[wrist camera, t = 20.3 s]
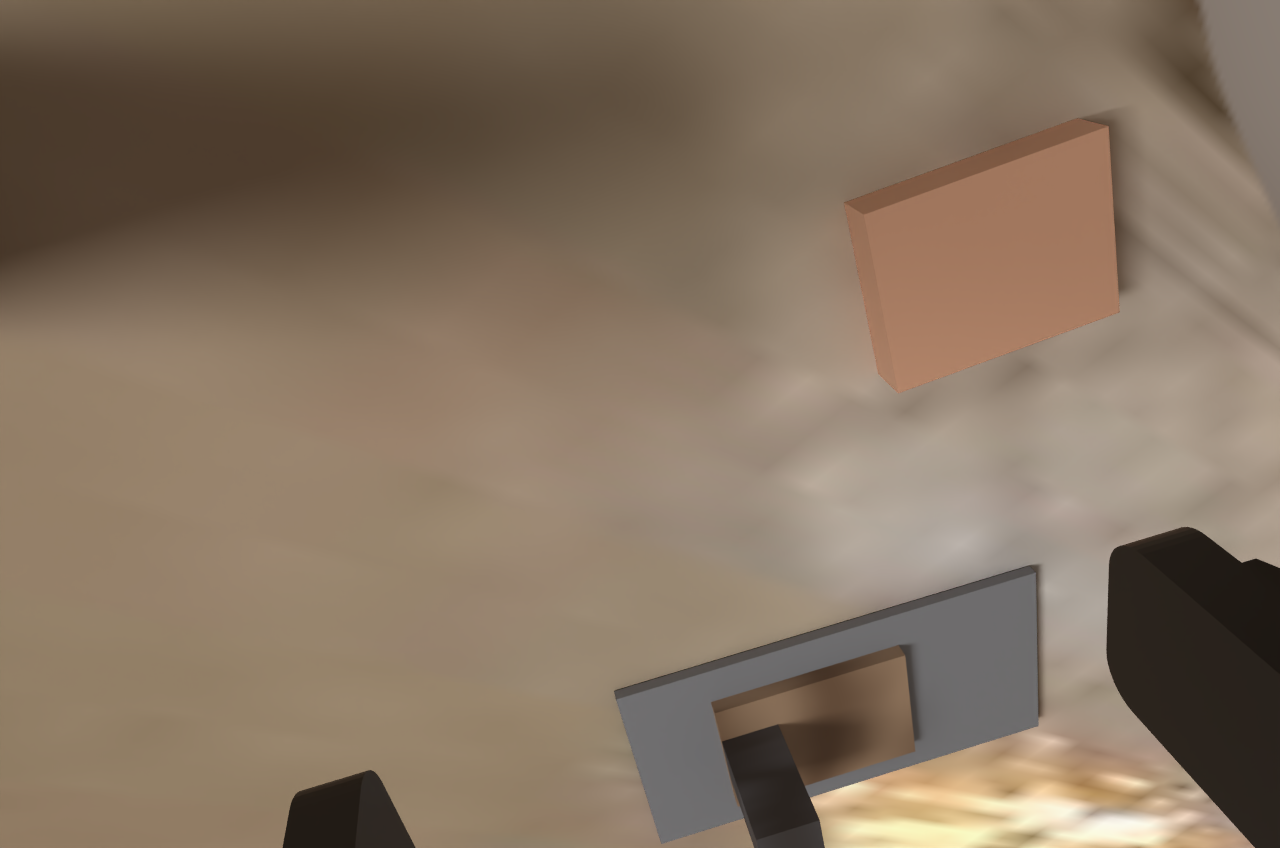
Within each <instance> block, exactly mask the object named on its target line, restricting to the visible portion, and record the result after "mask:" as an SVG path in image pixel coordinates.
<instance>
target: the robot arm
mask: <svg viewBox="0 0 1280 848" xmlns="http://www.w3.org/2000/svg"><path fill="white" fill-rule="evenodd" d="M1106 650H1107V661H1108V665H1109V669H1110V672H1111V675H1112V678H1113V680H1114V683H1115V685H1116V687H1117V689H1118V691H1119V693H1120V695H1121V696H1122V698H1123V700H1124V701H1125V703H1126V704H1127V705H1128V707H1129V708H1130V709H1131V711H1132V712H1133V713H1134V714H1135V715H1136V716H1137V717H1138V719H1139V720H1140V721H1141V722H1142V723H1143V724H1144V725H1145V726H1146V727H1147V728H1148V730H1149V731H1150V732H1151V733H1152V734H1153V735H1154V736H1155V737H1156V738H1157V740H1158V741H1159V742H1160V743H1161V744H1162V745H1163V746H1164V747H1165V748H1166V750H1167V751H1168V752H1169V753H1170V754H1171V755H1172V756H1173V757H1174V758H1175V760H1176V761H1177V762H1178V763H1179V764H1180V765H1181V766H1182V767H1183V768H1184V770H1185V771H1186V772H1187V773H1188V774H1189V775H1190V776H1191V777H1192V778H1193V780H1194V781H1195V782H1196V783H1197V784H1198V785H1199V786H1200V787H1201V788H1202V789H1203V791H1204V792H1205V793H1206V794H1207V795H1208V796H1209V797H1210V798H1211V799H1212V801H1213V802H1214V803H1215V804H1216V805H1217V806H1218V807H1219V808H1220V809H1221V811H1222V812H1223V813H1224V814H1225V815H1226V816H1227V817H1228V818H1229V819H1230V821H1231V822H1232V823H1233V824H1234V825H1235V826H1236V827H1237V828H1238V829H1239V831H1240V832H1241V833H1242V834H1243V835H1244V836H1245V837H1246V838H1247V839H1248V840H1249V842H1250V843H1251V844H1252V845H1253V846H1254V847H1255V848H1280V568H1278V567H1276V566H1273V565H1271V564H1268V563H1266V562H1263V561H1261V560H1258V559H1253V560H1250V561H1246V562H1243V563H1241V562H1240V561H1239V560H1237V559H1236V558H1235V557H1233V556H1232V555H1231V554H1229V553H1228V552H1227V551H1226V550H1224V549H1223V548H1222V547H1220V546H1219V545H1218V544H1216V543H1215V542H1214V541H1213V540H1211V539H1210V538H1209V537H1207V536H1206V535H1205V534H1203V533H1202V532H1200V531H1198V530H1196V529H1194V528H1190V527H1182V528H1178V529H1175V530H1172V531H1168V532H1165V533H1162V534H1158V535H1155V536H1152V537H1148V538H1145V539H1142V540H1139V541H1135V542H1132V543H1129V544H1125V545H1122V546H1119V547H1117V548H1115V549H1114V550H1113V552H1112V554H1111V557H1110V561H1109V584H1108V617H1107V649H1106ZM283 848H415V846H414V844H413V842H412V840H411V838H410V836H409V834H408V832H407V830H406V828H405V826H404V824H403V822H402V820H401V818H400V816H399V815H398V813H397V811H396V809H395V807H394V805H393V803H392V801H391V799H390V797H389V795H388V793H387V791H386V789H385V787H384V785H383V783H382V781H381V780H380V778H379V777H378V775H377V774H376V773H375V772H374V771H371V770H369V771H365V772H362V773H359V774H355V775H352V776H349V777H345V778H342V779H339V780H335V781H332V782H329V783H325V784H322V785H319V786H316V787H312V788H309V789H306V790H302V791H299V792H298V793H296V795H295V796H294V798H293V800H292V802H291V806H290V810H289V816H288V821H287V827H286V832H285V838H284V843H283Z"/></svg>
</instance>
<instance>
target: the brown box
mask: <svg viewBox="0 0 1280 848" xmlns="http://www.w3.org/2000/svg"><path fill="white" fill-rule="evenodd" d="M711 705H712V709H713V713H714V717H715V721H716V725H717V729H718V733H719V737H720V741H721V745H722V749H723V753H724V757H725V761H726V766H727V770H728V774H729V778H730V782H731V786H732V790H733V794H734V797H735V800H736V803H737V806H738V807H739V806H740V807H741V810H742V813H743V816H744V819H745V822H746V825H747V828H748V831H749V834H750V836H751V839H752V842H753V845H754V848H825V847H824V842H823V836H822V831H821V826H820V820H819V818H818V816H817V813H816V811H815V809H814V806H813V804H812V802H811V799H810V797H809V795H808V792H807V790H806V788H805V786H806V785H810V784H813V783H816V782H819V781H822V780H826V779H829V778H832V777H835V776H838V775H842V774H845V773H848V772H851V771H854V770H858V769H861V768H864V767H867V766H870V765H874V764H877V763H880V762H883V761H886V760H890V759H893V758H896V757H899V756H903V755H906V754H909V753H912V752H915V743H914V733H913V724H912V715H911V705H910V696H909V686H908V677H907V668H906V658H905V654H904V653H903V651H902V650H901V648H900V647H899V645H897V646H894V647H890V648H887V649H884V650H880V651H877V652H874V653H871V654H867V655H864V656H861V657H857V658H854V659H851V660H848V661H844V662H841V663H838V664H834V665H831V666H828V667H825V668H821V669H818V670H815V671H811V672H808V673H805V674H802V675H798V676H795V677H792V678H788V679H785V680H782V681H779V682H775V683H772V684H769V685H765V686H762V687H759V688H756V689H752V690H749V691H746V692H742V693H739V694H736V695H733V696H729V697H726V698H723V699H719V700H716V701H713V702H711Z"/></svg>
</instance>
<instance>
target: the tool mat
mask: <svg viewBox="0 0 1280 848" xmlns="http://www.w3.org/2000/svg"><path fill="white" fill-rule="evenodd" d="M897 645H899V647H900V648H901V650H902V651H903V653H904V654H905V658H906V668H907V677H908V686H909V696H910V705H911V715H912V724H913V733H914V743H915V752H912V753H909V754H906V755H903V756H899V757H896V758H893V759H890V760H886V761H883V762H880V763H877V764H874V765H870V766H867V767H864V768H861V769H858V770H854V771H851V772H848V773H845V774H842V775H838V776H835V777H832V778H829V779H826V780H822V781H819V782H816V783H813V784H810V785H806V786H805V788H806V790H807V792H808V795H809V797H813V796H816V795H819V794H822V793H826V792H829V791H832V790H835V789H838V788H842V787H845V786H848V785H851V784H854V783H858V782H861V781H864V780H867V779H870V778H873V777H877V776H880V775H883V774H886V773H889V772H893V771H896V770H899V769H902V768H905V767H909V766H912V765H915V764H918V763H921V762H925V761H928V760H931V759H934V758H937V757H941V756H944V755H947V754H950V753H953V752H957V751H960V750H963V749H966V748H969V747H973V746H976V745H979V744H982V743H985V742H988V741H992V740H995V739H998V738H1001V737H1004V736H1008V735H1011V734H1014V733H1017V732H1020V731H1024V730H1027V729H1030V728H1033V727H1036V726H1038V670H1037V609H1036V572H1035V571H1034V570H1033V569H1032V568H1031V567H1030V566H1027V567H1024V568H1021V569H1017V570H1014V571H1011V572H1007V573H1004V574H1001V575H997V576H994V577H991V578H988V579H984V580H981V581H978V582H974V583H971V584H968V585H964V586H961V587H958V588H954V589H951V590H948V591H944V592H941V593H938V594H934V595H931V596H928V597H925V598H921V599H918V600H915V601H911V602H908V603H905V604H901V605H898V606H895V607H891V608H888V609H885V610H881V611H878V612H875V613H872V614H868V615H865V616H862V617H858V618H855V619H852V620H848V621H845V622H842V623H838V624H835V625H832V626H828V627H825V628H822V629H818V630H815V631H812V632H809V633H805V634H802V635H799V636H795V637H792V638H789V639H785V640H782V641H779V642H775V643H772V644H769V645H765V646H762V647H759V648H756V649H752V650H749V651H746V652H742V653H739V654H736V655H732V656H729V657H726V658H722V659H719V660H716V661H712V662H709V663H706V664H702V665H699V666H696V667H693V668H689V669H686V670H683V671H679V672H676V673H673V674H669V675H666V676H663V677H659V678H656V679H653V680H649V681H646V682H643V683H640V684H636V685H633V686H630V687H626V688H623V689H620V690H616V691H614V692H615V697H616V701H617V704H618V707H619V710H620V714H621V717H622V720H623V723H624V726H625V729H626V733H627V736H628V739H629V742H630V745H631V749H632V752H633V755H634V758H635V761H636V764H637V768H638V771H639V774H640V777H641V780H642V784H643V787H644V790H645V793H646V796H647V799H648V803H649V806H650V809H651V812H652V815H653V819H654V822H655V825H656V828H657V831H658V834H659V838H660V841H661V844H663V843H666V842H669V841H672V840H675V839H679V838H682V837H685V836H688V835H691V834H695V833H698V832H701V831H704V830H707V829H711V828H714V827H717V826H720V825H723V824H727V823H730V822H733V821H736V820H739V819H743V818H744V816H743V813H742V810H741V807H740V806H739V807H738V806H737V803H736V800H735V797H734V794H733V790H732V786H731V782H730V778H729V774H728V770H727V766H726V761H725V757H724V753H723V749H722V745H721V741H720V737H719V733H718V729H717V725H716V721H715V717H714V713H713V709H712V705H711V702H713V701H716V700H719V699H723V698H726V697H729V696H733V695H736V694H739V693H742V692H746V691H749V690H752V689H756V688H759V687H762V686H765V685H769V684H772V683H775V682H779V681H782V680H785V679H788V678H792V677H795V676H798V675H802V674H805V673H808V672H811V671H815V670H818V669H821V668H825V667H828V666H831V665H834V664H838V663H841V662H844V661H848V660H851V659H854V658H857V657H861V656H864V655H867V654H871V653H874V652H877V651H880V650H884V649H887V648H890V647H894V646H897Z"/></svg>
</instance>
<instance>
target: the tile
mask: <svg viewBox="0 0 1280 848" xmlns="http://www.w3.org/2000/svg"><path fill="white" fill-rule="evenodd" d="M844 205H845V210H846V215H847V220H848V225H849V230H850V234H851V239H852V244H853V249H854V254H855V259H856V264H857V269H858V274H859V279H860V284H861V289H862V294H863V299H864V304H865V309H866V314H867V319H868V324H869V329H870V334H871V339H872V344H873V349H874V354H875V359H876V364H877V369H878V374H879V375H880V376H881V377H882V378H883V379H884V380H885V381H886V382H887V383H888V384H889V385H890V386H891V387H892V388H893V389H894V390H895V391H896V392H897V393H900V392H903V391H906V390H909V389H911V388H914V387H917V386H920V385H922V384H925V383H928V382H931V381H933V380H936V379H939V378H941V377H944V376H947V375H950V374H952V373H955V372H958V371H961V370H963V369H966V368H969V367H971V366H974V365H977V364H980V363H982V362H985V361H988V360H991V359H993V358H996V357H999V356H1002V355H1004V354H1007V353H1010V352H1012V351H1015V350H1018V349H1021V348H1023V347H1026V346H1029V345H1032V344H1034V343H1037V342H1040V341H1042V340H1045V339H1048V338H1051V337H1053V336H1056V335H1059V334H1062V333H1064V332H1067V331H1070V330H1072V329H1075V328H1078V327H1081V326H1083V325H1086V324H1089V323H1092V322H1094V321H1097V320H1100V319H1103V318H1105V317H1108V316H1111V315H1113V314H1116V313H1119V312H1120V310H1119V293H1118V276H1117V259H1116V242H1115V226H1114V209H1113V192H1112V175H1111V158H1110V141H1109V126H1106V125H1102V124H1098V123H1094V122H1090V121H1086V120H1083V119H1079V118H1076V119H1074V120H1071V121H1068V122H1065V123H1063V124H1060V125H1057V126H1054V127H1052V128H1049V129H1046V130H1043V131H1041V132H1038V133H1035V134H1032V135H1029V136H1027V137H1024V138H1021V139H1018V140H1016V141H1013V142H1010V143H1007V144H1005V145H1002V146H999V147H996V148H994V149H991V150H988V151H985V152H983V153H980V154H977V155H974V156H971V157H969V158H966V159H963V160H960V161H958V162H955V163H952V164H949V165H947V166H944V167H941V168H938V169H936V170H933V171H930V172H927V173H925V174H922V175H919V176H916V177H913V178H911V179H908V180H905V181H902V182H900V183H897V184H894V185H891V186H889V187H886V188H883V189H880V190H878V191H875V192H872V193H869V194H866V195H864V196H861V197H858V198H855V199H853V200H850V201H847V202H844Z"/></svg>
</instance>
